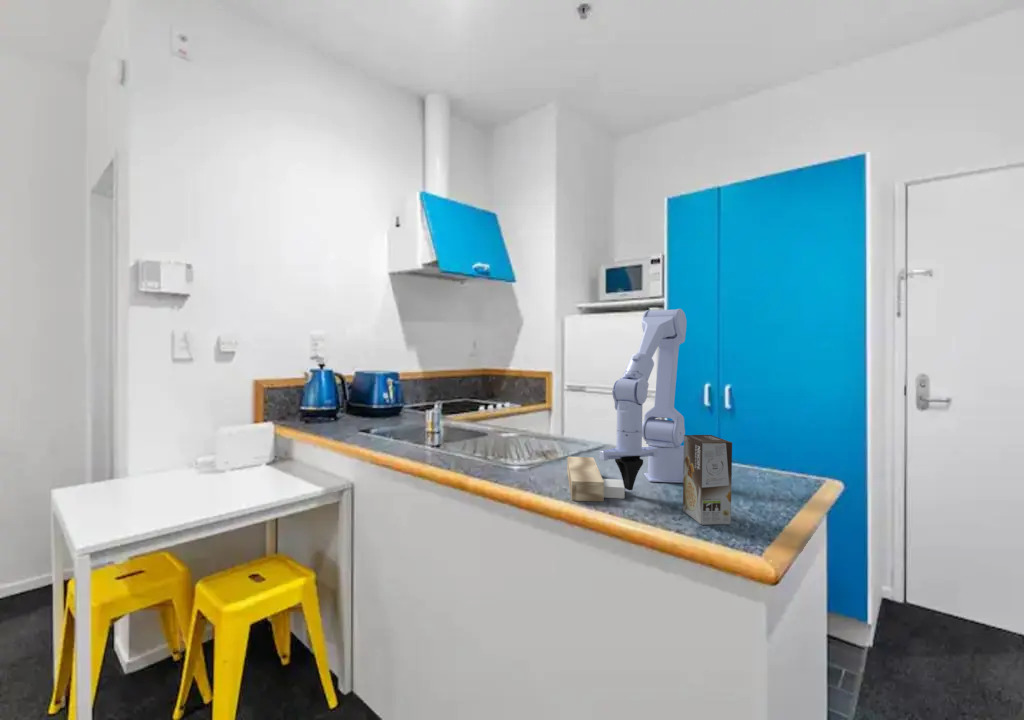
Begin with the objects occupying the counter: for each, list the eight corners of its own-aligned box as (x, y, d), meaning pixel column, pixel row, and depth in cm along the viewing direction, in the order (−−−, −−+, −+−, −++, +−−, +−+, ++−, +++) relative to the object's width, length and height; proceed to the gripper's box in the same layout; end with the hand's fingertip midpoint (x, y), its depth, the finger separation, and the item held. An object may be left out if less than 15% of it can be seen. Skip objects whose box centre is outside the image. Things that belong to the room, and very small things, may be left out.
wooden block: (593, 473, 137) (593, 457, 137) (603, 501, 112) (603, 482, 112) (567, 472, 138) (567, 456, 138) (571, 500, 112) (572, 481, 112)
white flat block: (621, 490, 121) (622, 479, 121) (624, 498, 114) (624, 487, 114) (579, 487, 123) (580, 477, 122) (579, 496, 116) (579, 485, 116)
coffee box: (732, 524, 98) (734, 442, 98) (700, 525, 97) (702, 442, 97) (710, 509, 107) (711, 434, 107) (680, 510, 106) (682, 434, 106)
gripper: (645, 426, 123) (644, 482, 123) (592, 429, 118) (592, 487, 118) (663, 431, 116) (662, 489, 117) (609, 434, 111) (608, 495, 112)
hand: (628, 489), depth 117 cm, fingers closed
